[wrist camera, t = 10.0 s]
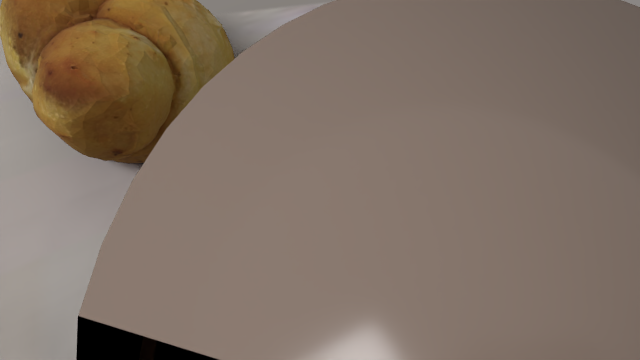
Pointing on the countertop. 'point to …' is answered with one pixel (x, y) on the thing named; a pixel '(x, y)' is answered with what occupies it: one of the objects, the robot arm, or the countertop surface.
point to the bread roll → (112, 67)
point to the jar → (391, 194)
